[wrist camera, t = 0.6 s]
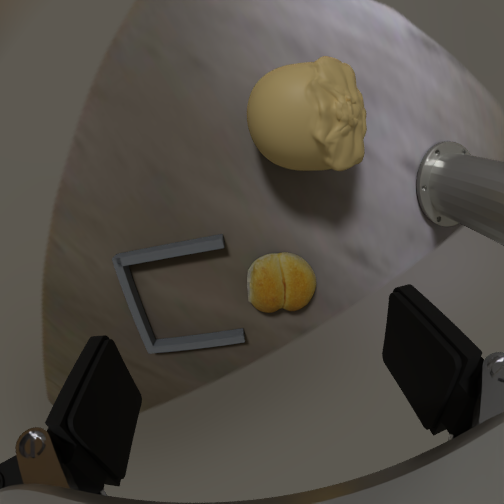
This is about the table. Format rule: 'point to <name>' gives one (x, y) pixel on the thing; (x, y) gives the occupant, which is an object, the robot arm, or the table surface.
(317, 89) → the pale yellow rounded lump
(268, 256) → the bread roll
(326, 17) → the table surface
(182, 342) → the bay
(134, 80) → the table surface
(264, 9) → the table surface
